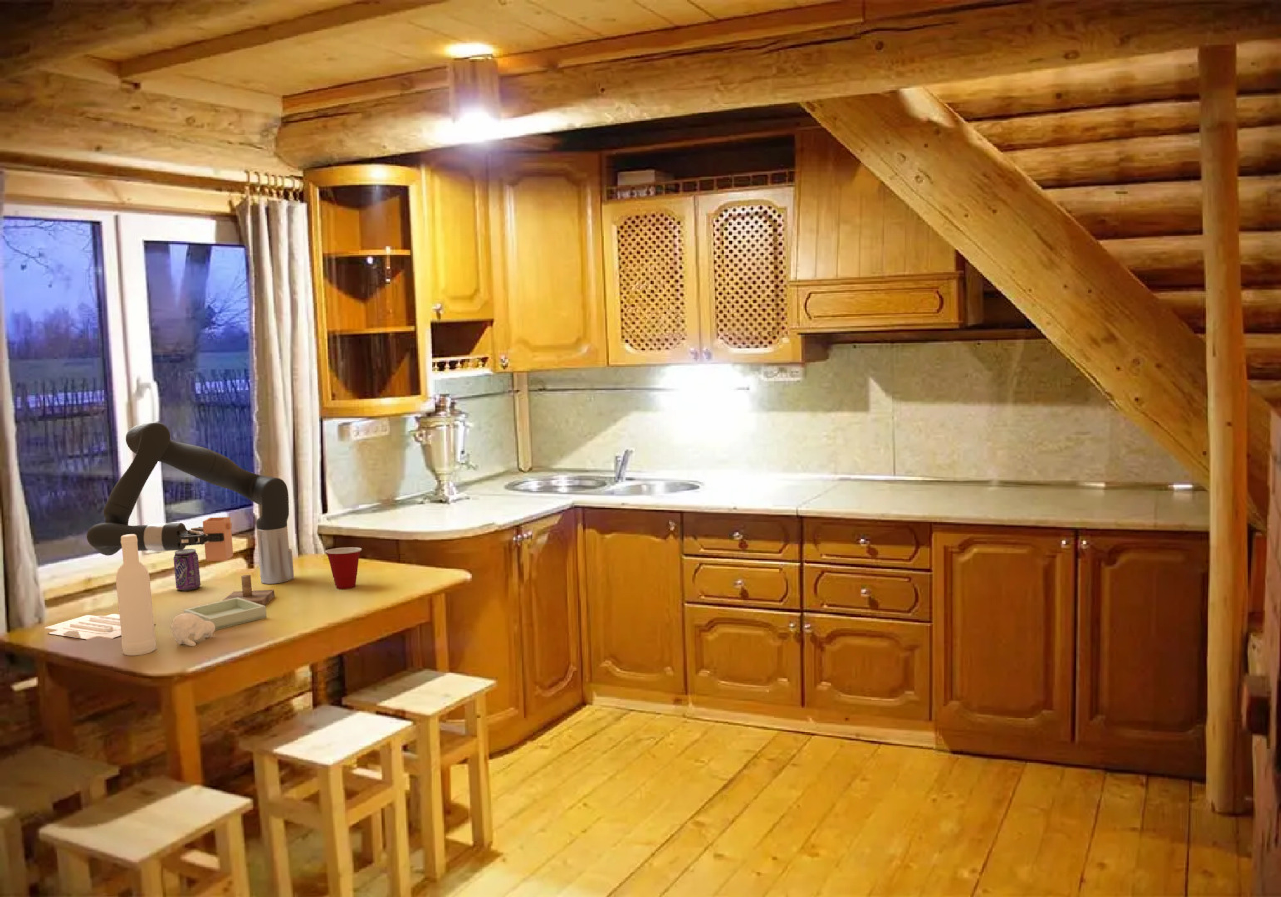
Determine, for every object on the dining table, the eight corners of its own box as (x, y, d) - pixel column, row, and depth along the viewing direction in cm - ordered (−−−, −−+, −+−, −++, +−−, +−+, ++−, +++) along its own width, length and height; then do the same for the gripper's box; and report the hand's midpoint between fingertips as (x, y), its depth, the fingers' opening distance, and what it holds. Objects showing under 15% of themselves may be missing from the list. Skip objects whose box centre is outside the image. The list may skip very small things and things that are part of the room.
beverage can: (172, 589, 350) (168, 551, 348) (194, 584, 355) (191, 547, 353) (182, 592, 345) (179, 554, 343) (204, 588, 350) (201, 550, 348)
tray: (238, 608, 324) (237, 597, 323) (266, 617, 313) (265, 606, 313) (184, 621, 312) (183, 609, 312) (211, 631, 301) (210, 619, 301)
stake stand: (234, 598, 336) (231, 572, 335) (274, 596, 336) (272, 570, 335) (220, 608, 324) (218, 581, 323) (262, 607, 324) (260, 580, 323)
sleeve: (213, 556, 313) (209, 517, 312) (236, 555, 313) (233, 516, 312) (205, 561, 308) (202, 521, 306) (229, 560, 308) (226, 520, 306)
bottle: (115, 653, 284) (104, 537, 280) (142, 645, 291) (131, 531, 287) (137, 657, 280) (125, 539, 276) (163, 648, 287) (152, 533, 283)
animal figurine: (168, 614, 288) (205, 606, 298) (168, 646, 288) (205, 637, 299) (184, 616, 285) (221, 609, 295) (184, 648, 285) (221, 640, 296)
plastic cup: (369, 582, 350) (366, 544, 348) (357, 591, 339) (354, 552, 337) (335, 582, 351) (332, 544, 349) (322, 591, 340) (319, 552, 339)
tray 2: (98, 614, 325) (97, 602, 325) (166, 627, 313) (165, 614, 312) (33, 634, 307) (31, 621, 307) (102, 649, 295) (101, 635, 294)
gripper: (153, 528, 302) (217, 526, 302) (174, 518, 316) (234, 516, 316) (156, 556, 303) (219, 554, 303) (176, 544, 317) (237, 542, 317)
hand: (227, 534), depth 310 cm, fingers closed on sleeve, 5 cm apart
